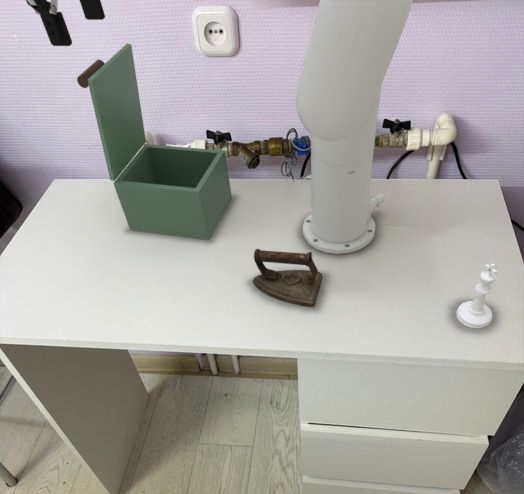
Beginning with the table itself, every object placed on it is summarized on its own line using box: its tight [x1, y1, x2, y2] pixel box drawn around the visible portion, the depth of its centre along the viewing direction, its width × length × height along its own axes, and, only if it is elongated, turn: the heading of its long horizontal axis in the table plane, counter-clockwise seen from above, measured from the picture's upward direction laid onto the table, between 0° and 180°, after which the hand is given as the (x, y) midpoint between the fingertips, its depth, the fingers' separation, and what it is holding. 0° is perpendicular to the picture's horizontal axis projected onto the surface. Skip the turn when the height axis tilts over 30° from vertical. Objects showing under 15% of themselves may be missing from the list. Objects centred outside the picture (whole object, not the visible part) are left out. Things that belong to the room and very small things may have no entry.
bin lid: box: [76, 43, 147, 182], centre depth 82 cm, size 17×13×5 cm
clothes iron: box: [252, 248, 323, 308], centre depth 77 cm, size 7×11×10 cm, turn 76°
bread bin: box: [113, 143, 233, 241], centre depth 91 cm, size 16×13×10 cm
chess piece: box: [455, 262, 498, 329], centre depth 69 cm, size 5×5×10 cm
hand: (79, 31), depth 72 cm, fingers open, 9 cm apart
